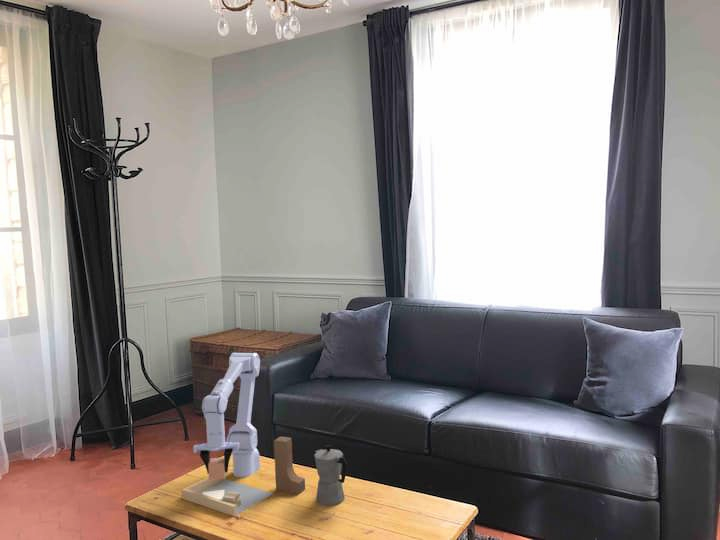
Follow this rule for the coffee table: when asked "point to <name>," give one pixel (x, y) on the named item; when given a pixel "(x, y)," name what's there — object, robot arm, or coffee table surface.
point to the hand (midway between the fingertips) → (217, 471)
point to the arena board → (247, 494)
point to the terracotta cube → (217, 468)
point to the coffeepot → (330, 476)
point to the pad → (215, 494)
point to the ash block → (233, 498)
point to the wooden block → (286, 468)
